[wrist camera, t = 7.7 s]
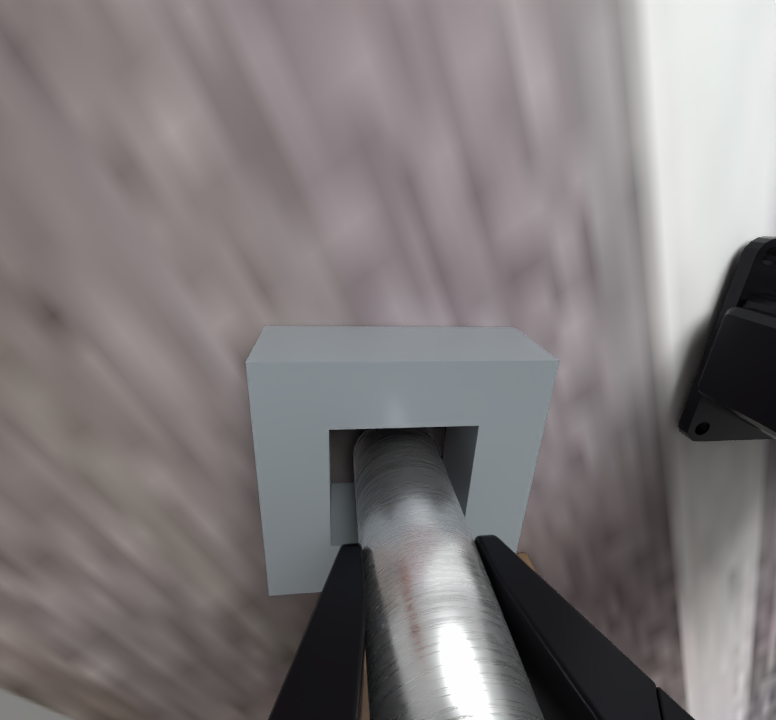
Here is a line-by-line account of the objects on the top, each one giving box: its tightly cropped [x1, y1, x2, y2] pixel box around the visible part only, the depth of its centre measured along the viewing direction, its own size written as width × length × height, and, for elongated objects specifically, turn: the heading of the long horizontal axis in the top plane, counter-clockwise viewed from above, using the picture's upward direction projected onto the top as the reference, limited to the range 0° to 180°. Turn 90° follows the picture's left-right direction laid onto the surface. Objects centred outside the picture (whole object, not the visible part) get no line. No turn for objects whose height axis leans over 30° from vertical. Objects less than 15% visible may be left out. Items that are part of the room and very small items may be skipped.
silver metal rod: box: [353, 427, 544, 720], centre depth 8 cm, size 2×2×8 cm
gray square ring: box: [246, 326, 559, 596], centre depth 11 cm, size 7×7×2 cm
